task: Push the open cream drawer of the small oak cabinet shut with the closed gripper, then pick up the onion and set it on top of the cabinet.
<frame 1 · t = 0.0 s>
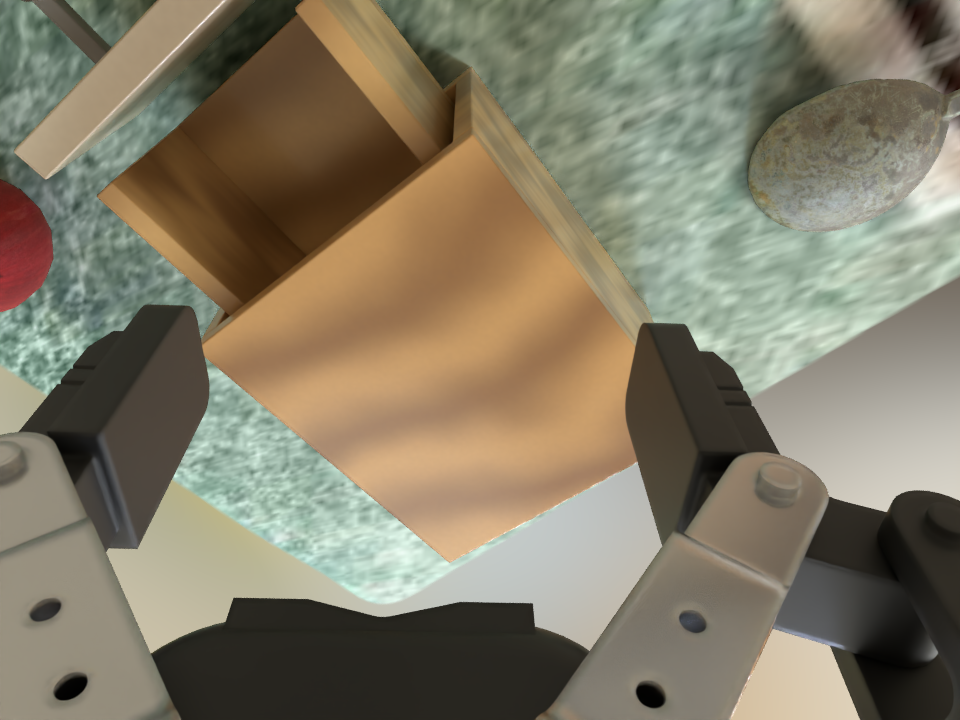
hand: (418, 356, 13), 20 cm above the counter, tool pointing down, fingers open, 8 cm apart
drawer: (274, 123, 26), point 5 cm above the counter, slide at 7.0 cm
cabinet: (460, 274, 35), on the counter
onion: (20, 209, 33), on the counter
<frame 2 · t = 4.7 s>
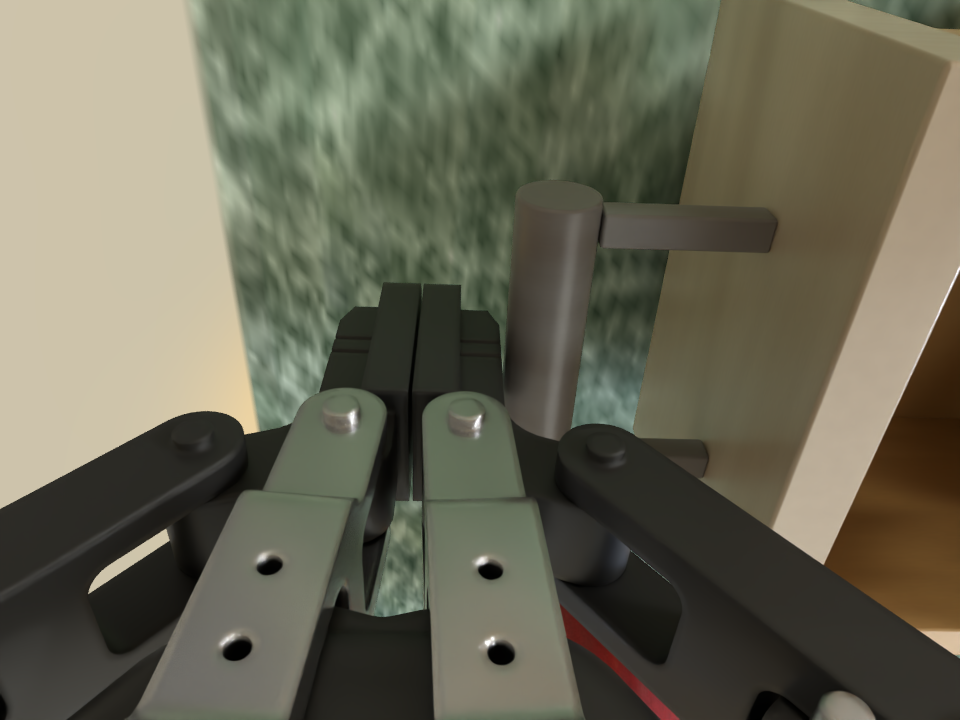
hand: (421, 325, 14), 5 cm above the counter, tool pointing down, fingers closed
drawer: (949, 335, 14), point 5 cm above the counter, slide at 6.0 cm, touching gripper
onion: (575, 586, 26), on the counter
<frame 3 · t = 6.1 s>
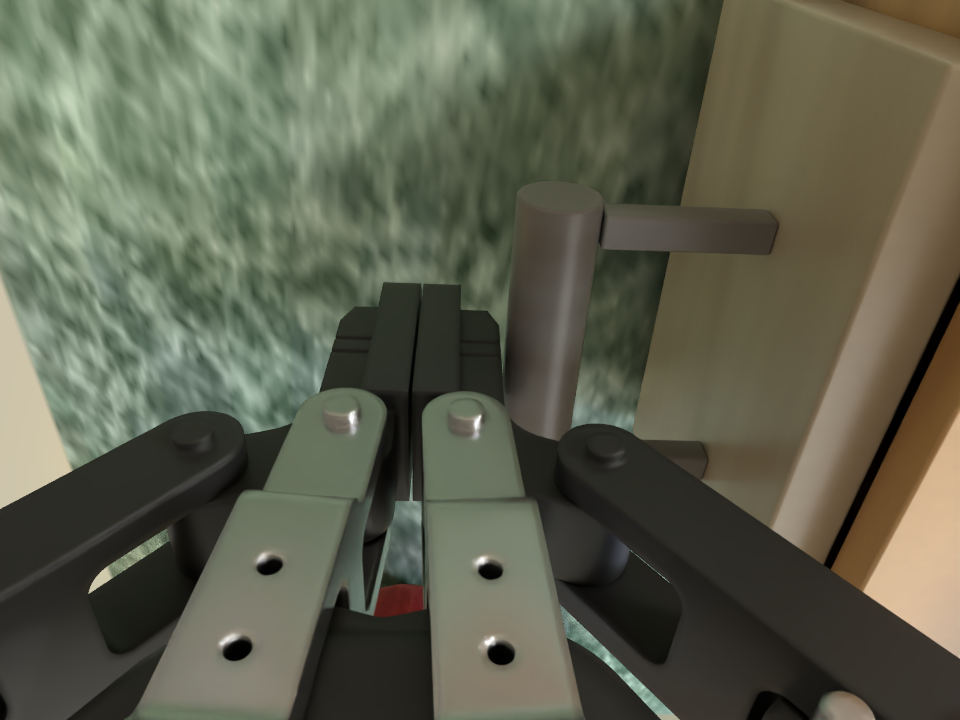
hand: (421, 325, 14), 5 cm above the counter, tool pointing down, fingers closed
drawer: (949, 338, 14), point 5 cm above the counter, slide at 0.0 cm, touching cabinet, gripper
onion: (408, 583, 26), on the counter
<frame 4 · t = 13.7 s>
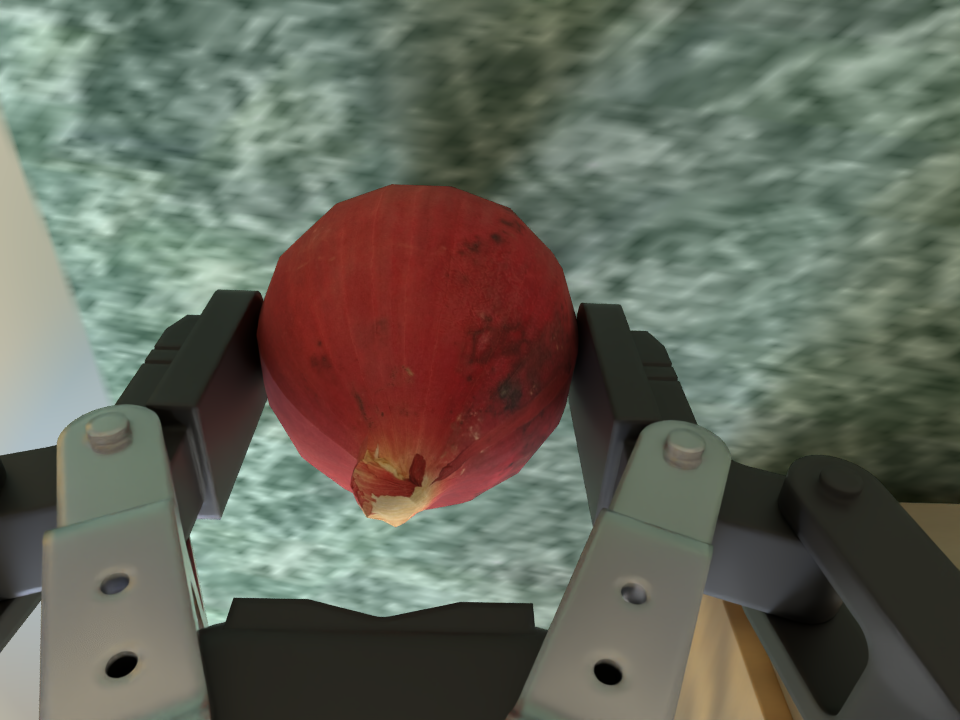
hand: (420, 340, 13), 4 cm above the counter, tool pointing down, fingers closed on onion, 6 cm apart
cabinet: (820, 655, 25), on the counter
onion: (430, 253, 17), on the counter, touching gripper
when the fingers open (13 cm above the counter, at t = 20.4 s): onion stays where it is, resting on cabinet.
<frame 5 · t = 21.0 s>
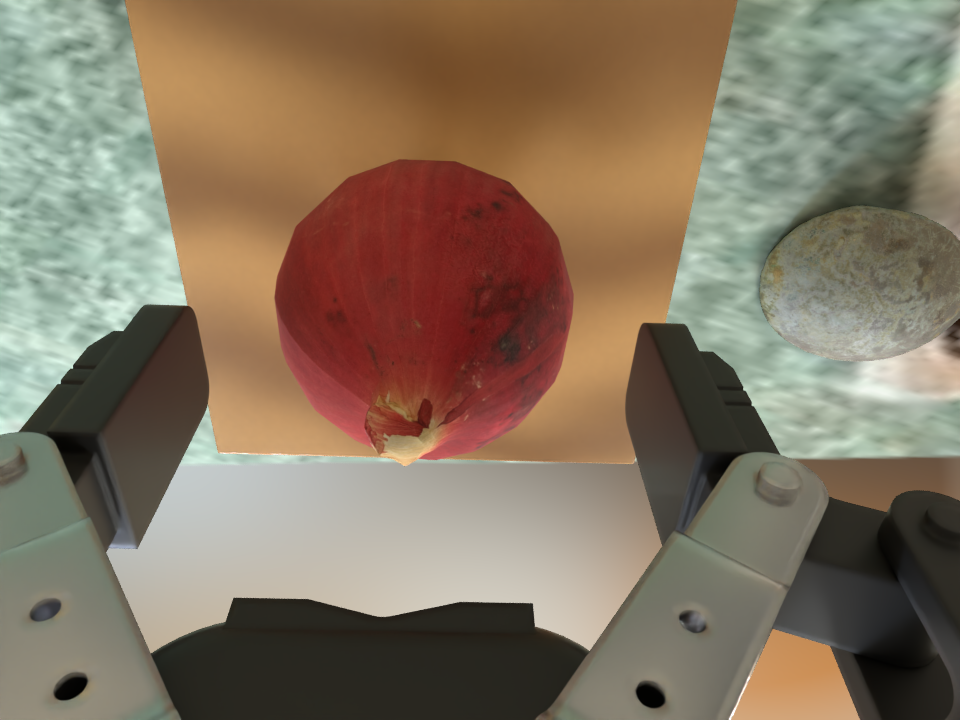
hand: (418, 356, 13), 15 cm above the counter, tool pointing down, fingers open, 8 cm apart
cabinet: (441, 125, 25), on the counter
onion: (434, 230, 18), point 9 cm above the counter, touching cabinet
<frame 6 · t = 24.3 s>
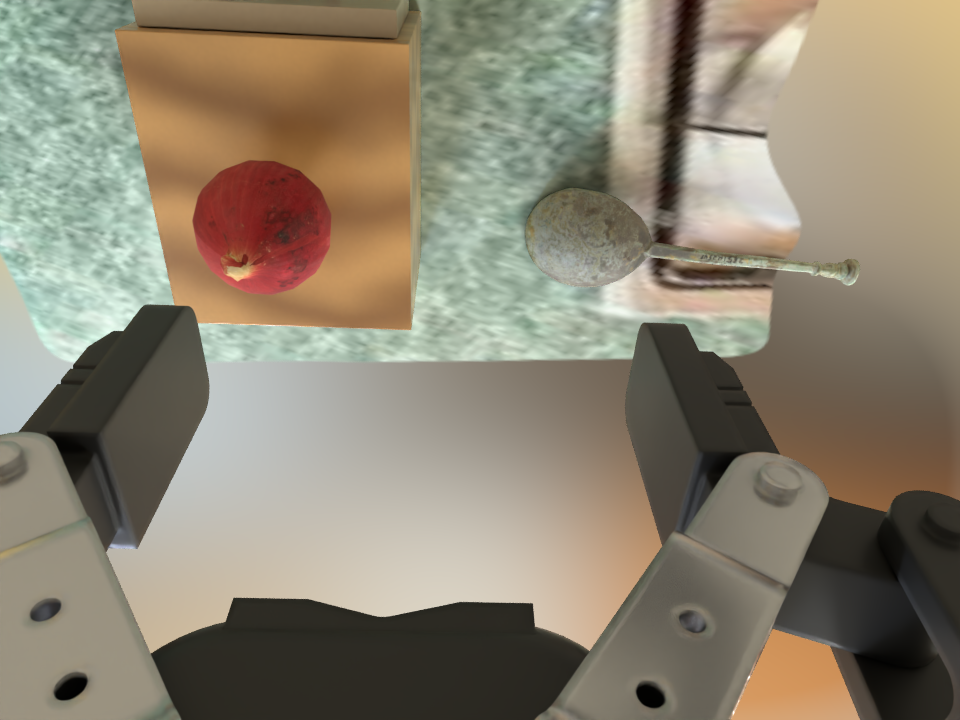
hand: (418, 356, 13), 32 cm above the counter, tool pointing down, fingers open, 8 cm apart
soupspoon: (688, 245, 47), on the counter
drawer: (293, 92, 37), point 5 cm above the counter, slide at 0.0 cm
cabinet: (315, 139, 43), on the counter
onion: (283, 195, 35), point 9 cm above the counter, touching cabinet
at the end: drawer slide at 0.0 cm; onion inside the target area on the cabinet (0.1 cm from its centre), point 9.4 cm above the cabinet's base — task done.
